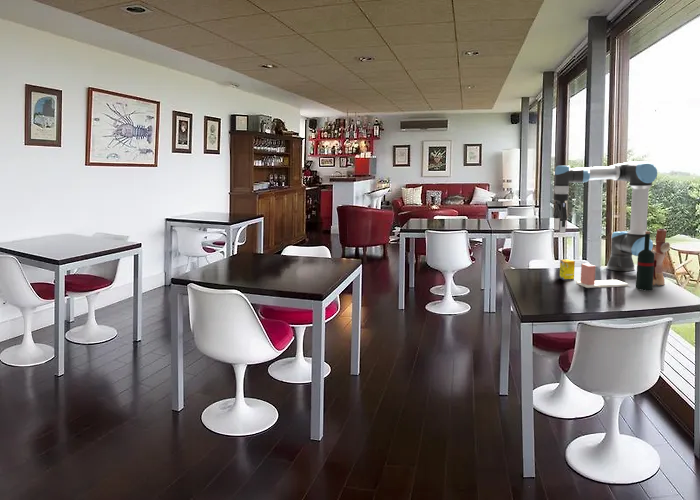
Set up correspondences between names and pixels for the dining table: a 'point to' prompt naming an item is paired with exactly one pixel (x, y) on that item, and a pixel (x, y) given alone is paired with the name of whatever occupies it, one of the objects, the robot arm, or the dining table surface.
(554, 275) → the dining table surface
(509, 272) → the dining table surface
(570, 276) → the supplement box
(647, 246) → the wine bottle
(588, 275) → the pink rectangular block
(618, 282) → the white flat slab
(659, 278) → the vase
